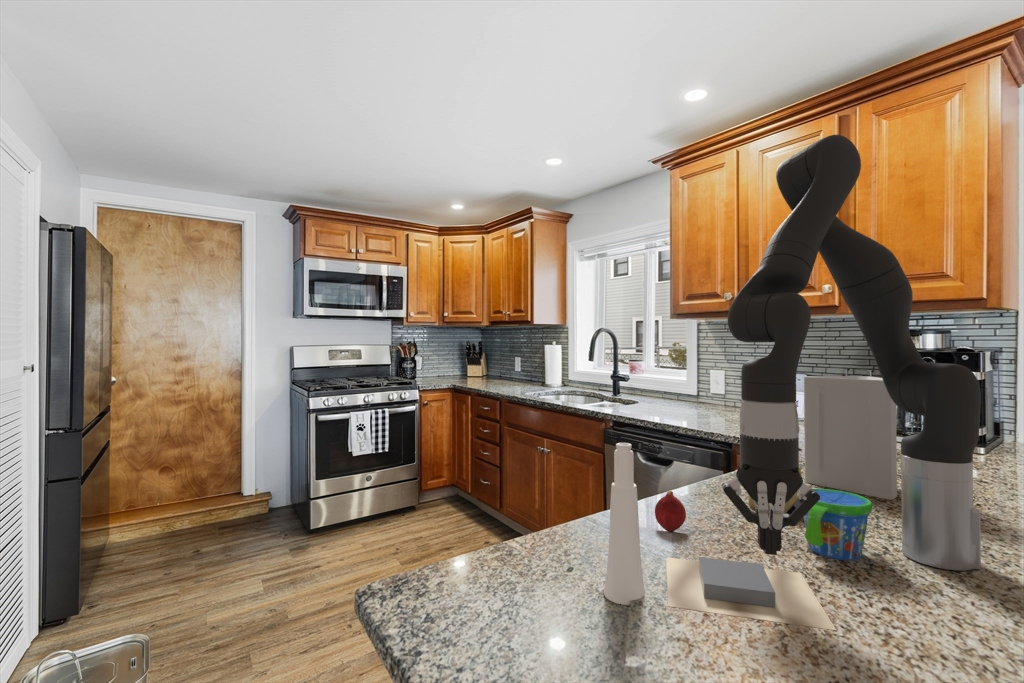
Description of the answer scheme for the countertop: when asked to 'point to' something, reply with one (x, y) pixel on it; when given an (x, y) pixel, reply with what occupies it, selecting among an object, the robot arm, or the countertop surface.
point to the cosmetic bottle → (624, 533)
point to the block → (736, 582)
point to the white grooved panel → (850, 435)
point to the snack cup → (837, 524)
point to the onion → (670, 512)
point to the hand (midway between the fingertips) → (769, 552)
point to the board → (790, 604)
